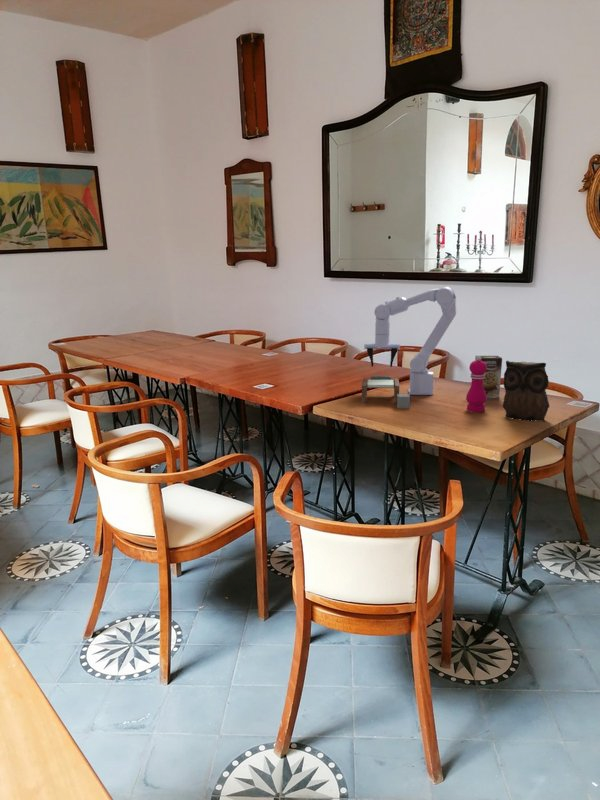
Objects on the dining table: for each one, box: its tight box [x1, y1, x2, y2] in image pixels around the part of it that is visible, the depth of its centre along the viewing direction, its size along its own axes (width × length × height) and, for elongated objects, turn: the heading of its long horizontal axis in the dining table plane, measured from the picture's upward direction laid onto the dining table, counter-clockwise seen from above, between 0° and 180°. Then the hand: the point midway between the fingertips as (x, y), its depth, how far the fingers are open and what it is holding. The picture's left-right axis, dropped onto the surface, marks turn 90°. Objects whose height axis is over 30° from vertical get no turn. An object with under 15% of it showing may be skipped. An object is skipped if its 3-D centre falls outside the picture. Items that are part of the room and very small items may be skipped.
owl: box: [502, 360, 550, 422], centre depth 197 cm, size 13×13×20 cm
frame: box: [361, 377, 400, 404], centre depth 227 cm, size 14×13×7 cm
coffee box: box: [474, 355, 503, 399], centre depth 225 cm, size 9×6×16 cm
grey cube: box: [396, 393, 411, 409], centre depth 216 cm, size 4×4×4 cm
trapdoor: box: [367, 375, 394, 389], centre depth 226 cm, size 10×12×2 cm
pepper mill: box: [465, 355, 488, 413], centre depth 207 cm, size 7×7×20 cm
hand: (381, 366), depth 238 cm, fingers open, 7 cm apart
